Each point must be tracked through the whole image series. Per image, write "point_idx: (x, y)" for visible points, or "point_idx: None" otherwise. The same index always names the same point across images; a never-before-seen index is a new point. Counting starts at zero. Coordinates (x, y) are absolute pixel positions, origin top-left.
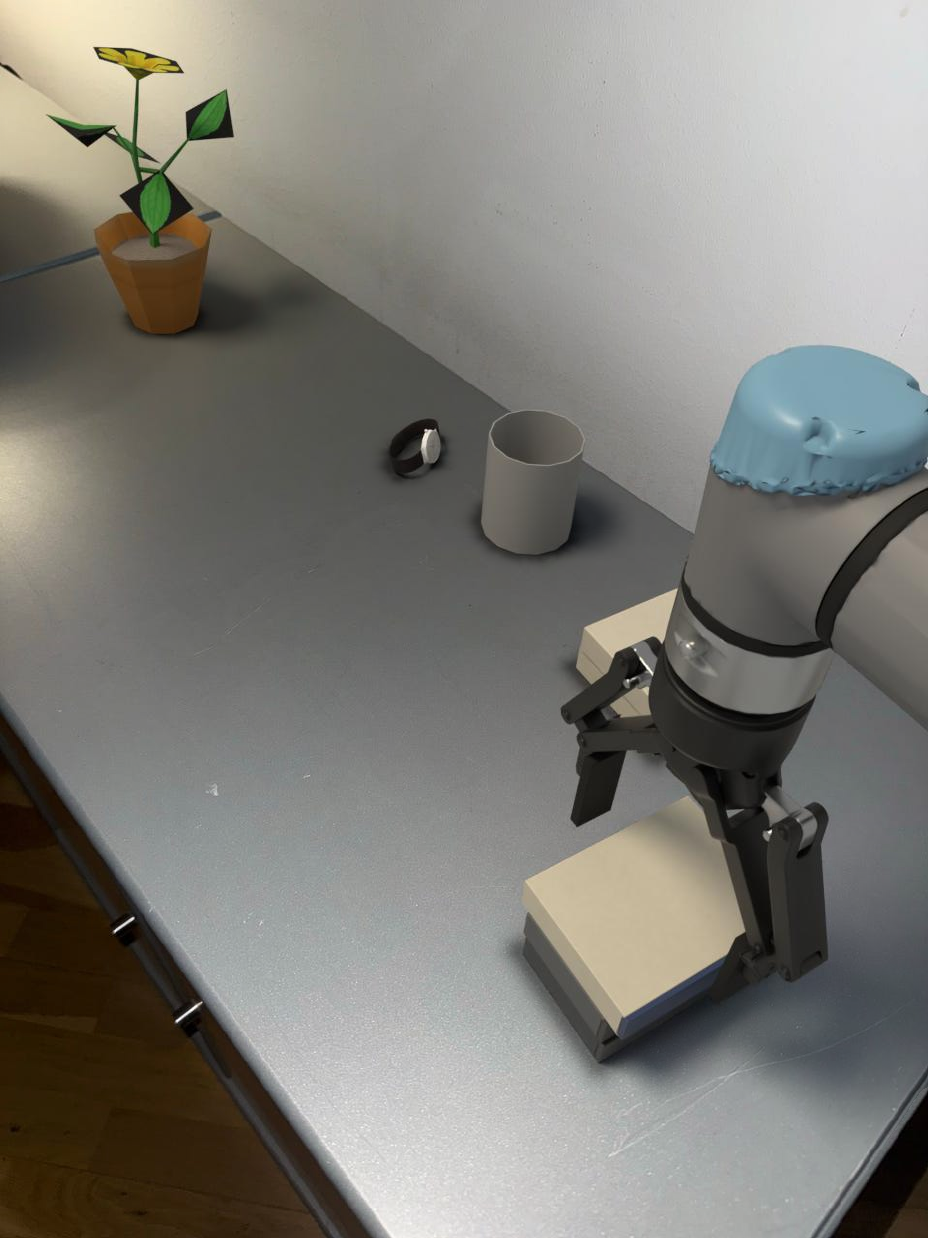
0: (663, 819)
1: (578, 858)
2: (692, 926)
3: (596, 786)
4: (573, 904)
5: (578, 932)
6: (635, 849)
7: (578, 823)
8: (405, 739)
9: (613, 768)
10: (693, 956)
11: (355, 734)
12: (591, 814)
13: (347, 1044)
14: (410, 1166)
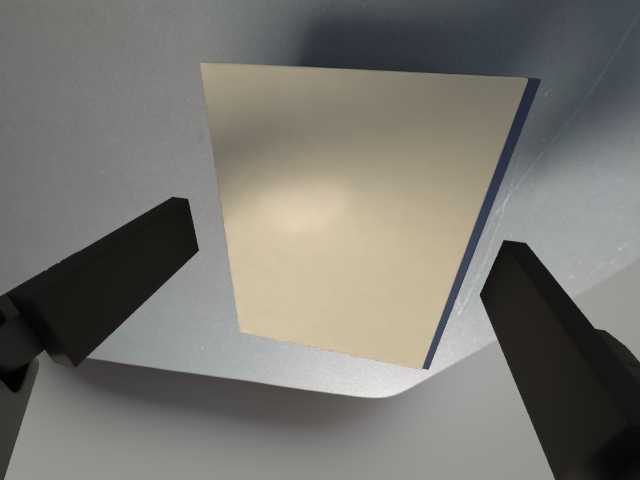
0: (228, 146)
1: (238, 281)
2: (398, 249)
3: (134, 287)
4: (286, 321)
5: (317, 338)
6: (256, 221)
7: (193, 253)
8: (76, 204)
9: (95, 284)
10: (431, 280)
11: (69, 232)
12: (185, 239)
13: (291, 361)
14: (370, 379)
